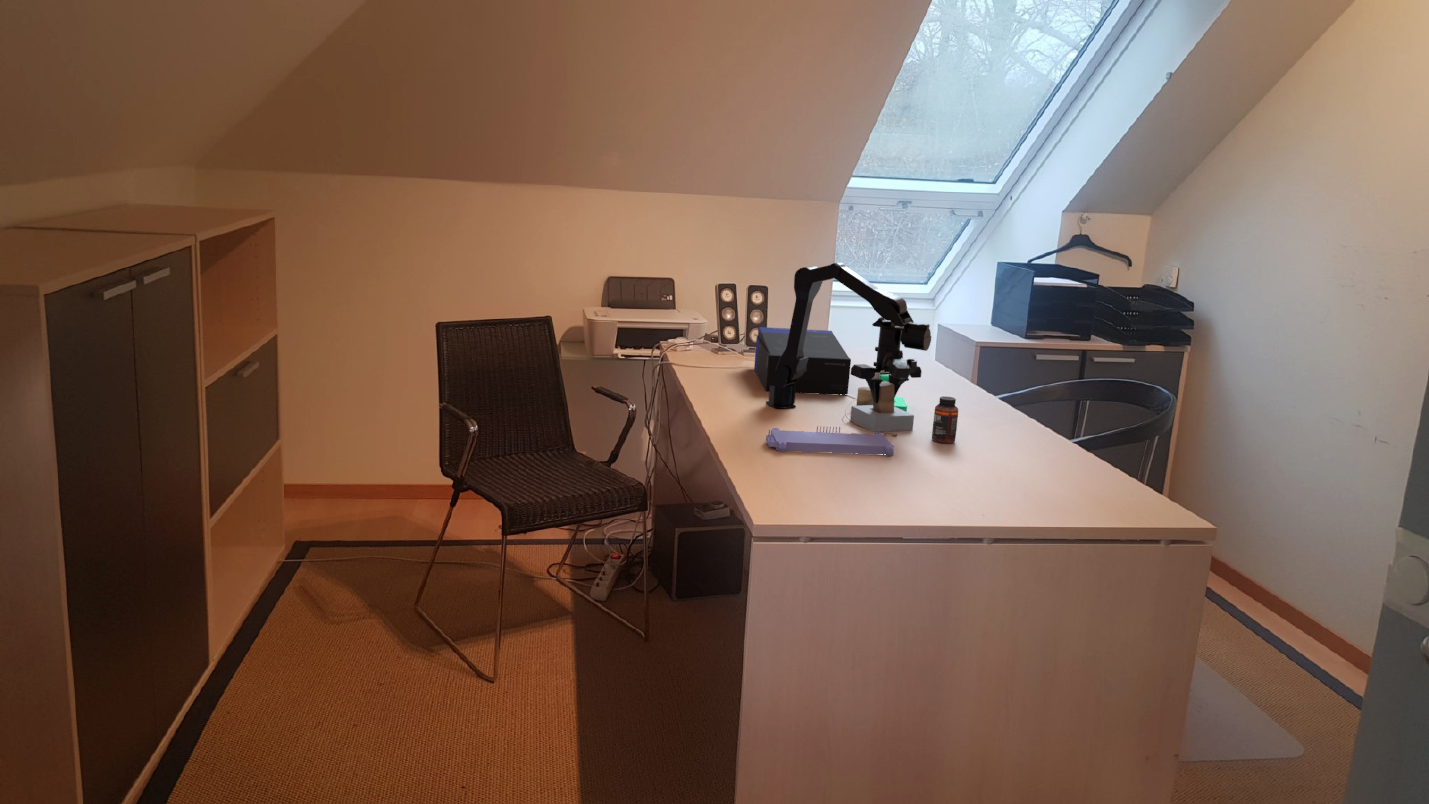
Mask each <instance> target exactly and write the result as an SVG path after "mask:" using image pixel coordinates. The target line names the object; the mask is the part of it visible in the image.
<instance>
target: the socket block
mask: <svg viewBox="0 0 1429 804" xmlns="http://www.w3.org/2000/svg"><path fill="white" fill-rule="evenodd" d="M849 419H850V421H851V422H853V423H854V424H857V425H858V426H861V427H863V428H865V427H866V428H865V429H867V430H869V431H871V432H873V433H875V432H879V433H882V432H899V431H913V429H914V422H915V421H914V420H915V414H912V413H910V412H908V411H907V412H906V411H903V410H901V409H899V408H897V407H894V413H878V412H875V411H873V405H862V406H856V405H851V411H850V418H849Z"/></svg>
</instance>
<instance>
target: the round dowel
mask: <svg viewBox="0 0 1429 804" xmlns="http://www.w3.org/2000/svg"><path fill="white" fill-rule="evenodd" d="M862 405H873V397H872V394H871V391H870V388H869V386H862V387H858V388H857V396H856V405H855V406H862Z"/></svg>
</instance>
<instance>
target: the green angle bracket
mask: <svg viewBox="0 0 1429 804" xmlns="http://www.w3.org/2000/svg"><path fill="white" fill-rule="evenodd" d="M889 375H891V374H886V375H880V379H882V380H883V381H882V382H884V381H887V382H889ZM894 407H897V408H899V409H901V410H903V411H906V412H908V411H907V410H908V405H907V402H906V401H905V399H904V397H901V396H895V398H894Z"/></svg>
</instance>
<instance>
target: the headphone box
mask: <svg viewBox="0 0 1429 804" xmlns="http://www.w3.org/2000/svg"><path fill="white" fill-rule="evenodd" d="M789 331H790V328H784V327H783V328H782V327H768V326H767V327H766V326H765V327H764V326H758V330H757V336H756V339H755V340H756V341H755V353H754V354H755V356H754V367H753V369H754V370H753V371H755V374H756V376H757V378H758V380H759V381H760V383H761V385H762V387H763V388H764V390H765V392H767V393H769V392H770V385H768V381H767V377H769V376H770V375H771V374H772V373H773V372H775V371H776V367H777V364H778V362H779V359H780V357H781V356H782V354H783V352H784V351H785V349H786V346H787V341H788V336H789ZM803 353H804V357H808V358H809V359H808V362H807V365H806V369H807V371H805V372H804V373H803V375H802V376H801V377H799V378H798V380H797V383H794V385H795V390H796V394H805V393H819V394H818V395H827V394H838V395H837V396H846V395H845V394H848V395H849V387H850V386H849V385H850V375H851V366H852V365H851V364H852V359H851V358H850V357H849V355H848V354H847V353H846V351H845V349H844V348H843V346H842V345H841V343H840V342H839V340H838V338H837V337H836V336H835V334H834V333H833V331H832V330H825V329H824V330H821V329H807V332H806V337H805V342H804V346H803ZM840 394H842V395H840Z"/></svg>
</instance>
